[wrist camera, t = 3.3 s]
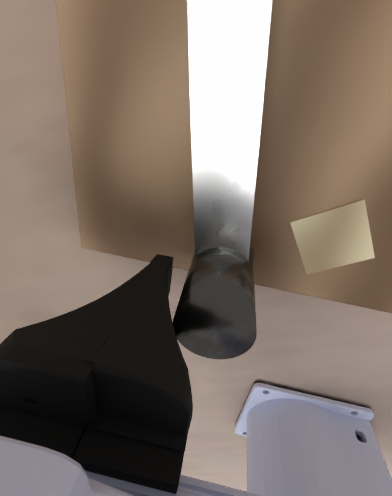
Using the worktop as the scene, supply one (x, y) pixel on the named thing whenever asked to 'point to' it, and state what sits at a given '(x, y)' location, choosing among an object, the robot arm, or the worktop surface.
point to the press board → (270, 145)
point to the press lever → (223, 173)
